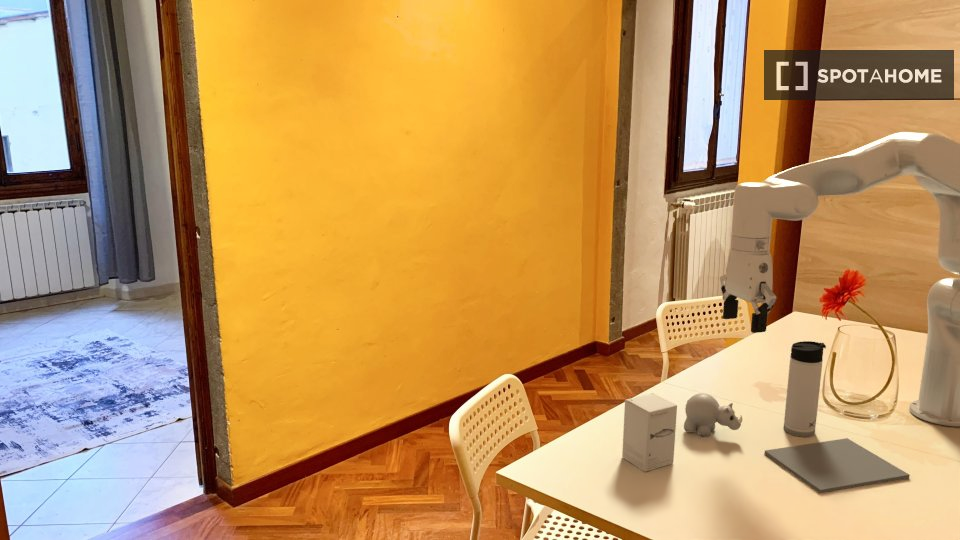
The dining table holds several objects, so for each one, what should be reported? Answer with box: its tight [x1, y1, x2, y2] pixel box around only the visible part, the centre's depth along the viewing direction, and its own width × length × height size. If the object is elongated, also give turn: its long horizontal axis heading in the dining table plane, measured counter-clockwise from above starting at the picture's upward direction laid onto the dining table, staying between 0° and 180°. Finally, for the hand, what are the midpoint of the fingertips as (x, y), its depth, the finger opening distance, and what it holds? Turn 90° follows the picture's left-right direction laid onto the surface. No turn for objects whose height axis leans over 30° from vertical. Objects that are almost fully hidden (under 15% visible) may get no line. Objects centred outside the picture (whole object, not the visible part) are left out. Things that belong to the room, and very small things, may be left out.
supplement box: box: [621, 393, 678, 473], centre depth 145 cm, size 7×7×13 cm
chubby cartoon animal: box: [683, 393, 743, 437], centre depth 157 cm, size 7×12×8 cm, turn 54°
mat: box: [763, 437, 910, 494], centre depth 144 cm, size 20×16×1 cm
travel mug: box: [783, 340, 827, 438], centre depth 157 cm, size 6×7×20 cm
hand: (743, 325), depth 153 cm, fingers open, 9 cm apart
